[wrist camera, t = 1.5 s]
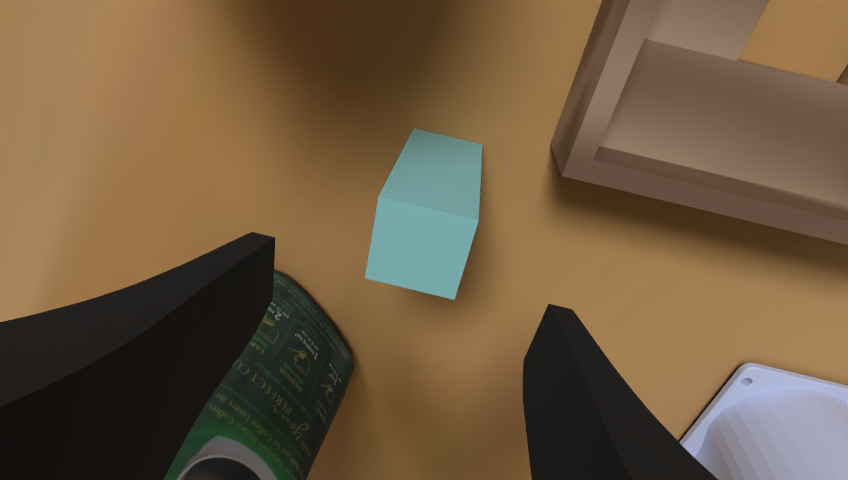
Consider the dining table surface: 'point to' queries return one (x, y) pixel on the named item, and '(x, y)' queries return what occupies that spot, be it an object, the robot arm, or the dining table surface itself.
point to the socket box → (705, 118)
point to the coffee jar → (271, 398)
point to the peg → (427, 215)
